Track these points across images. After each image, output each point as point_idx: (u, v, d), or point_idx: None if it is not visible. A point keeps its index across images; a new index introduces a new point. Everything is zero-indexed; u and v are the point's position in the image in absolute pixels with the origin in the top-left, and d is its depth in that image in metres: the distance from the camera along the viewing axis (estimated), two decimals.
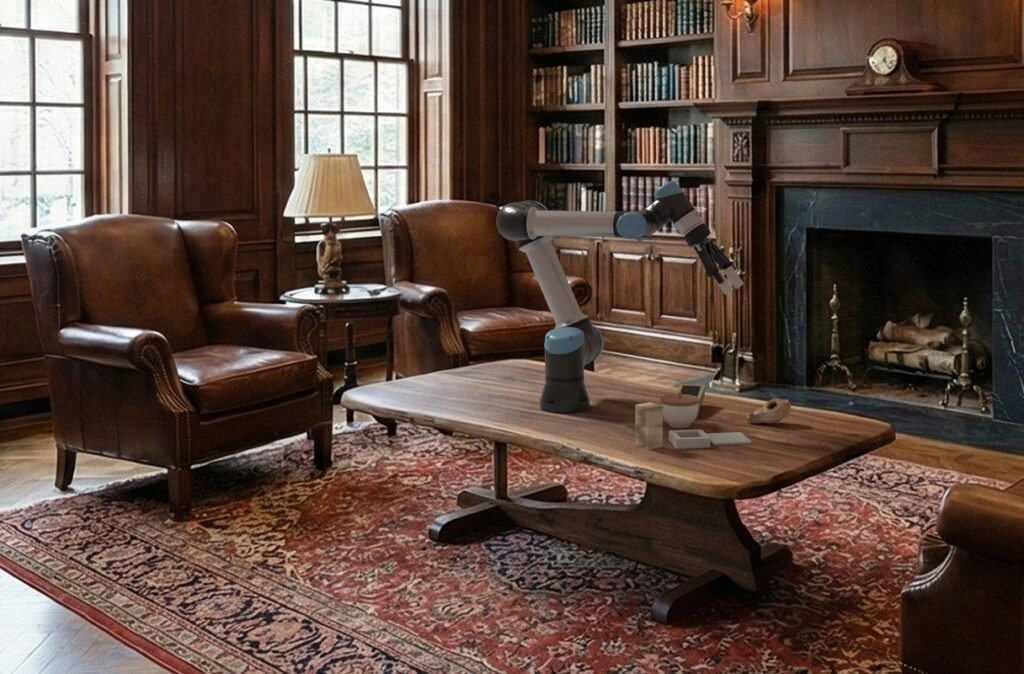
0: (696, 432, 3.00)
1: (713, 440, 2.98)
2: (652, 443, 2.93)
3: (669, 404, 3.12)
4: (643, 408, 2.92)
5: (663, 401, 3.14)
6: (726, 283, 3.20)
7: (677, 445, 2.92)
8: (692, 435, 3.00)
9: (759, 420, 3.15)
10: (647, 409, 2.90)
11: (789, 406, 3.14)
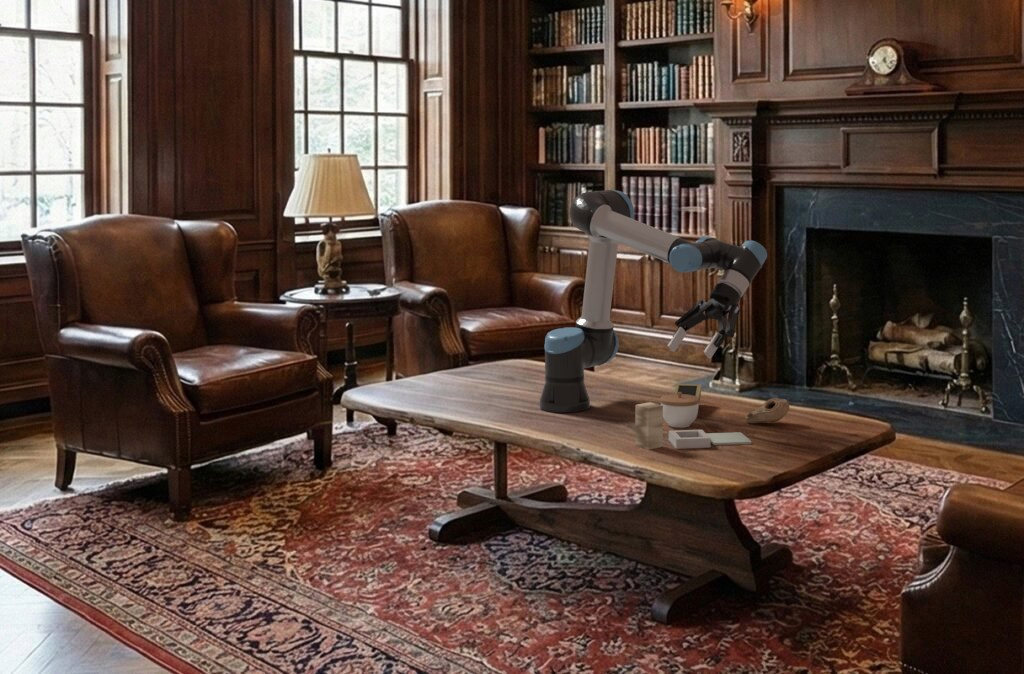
0: (696, 432, 3.00)
1: (713, 440, 2.98)
2: (652, 443, 2.93)
3: (669, 404, 3.12)
4: (643, 408, 2.92)
5: (663, 401, 3.14)
6: (714, 350, 2.94)
7: (677, 445, 2.92)
8: (692, 435, 3.00)
9: (757, 420, 3.15)
10: (647, 409, 2.90)
11: (787, 406, 3.14)
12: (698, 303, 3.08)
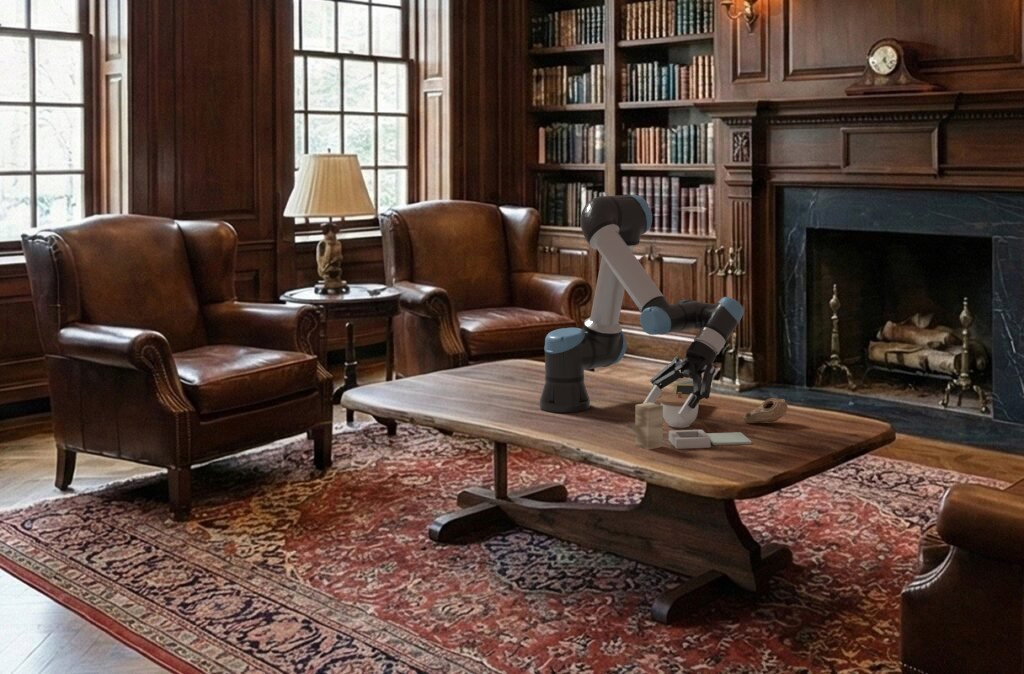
0: (696, 432, 3.00)
1: (713, 440, 2.98)
2: (652, 443, 2.93)
3: (669, 404, 3.12)
4: (643, 408, 2.92)
5: (663, 401, 3.14)
6: (689, 411, 2.90)
7: (677, 445, 2.92)
8: (692, 435, 3.00)
9: (756, 420, 3.16)
10: (647, 409, 2.90)
11: (786, 405, 3.15)
12: (674, 360, 3.04)
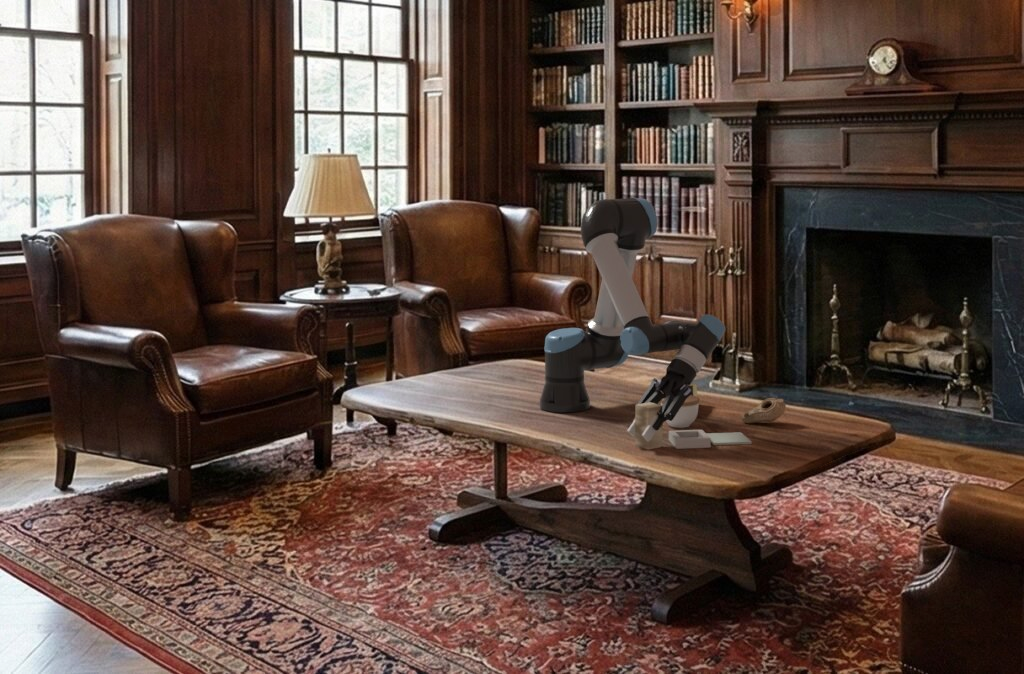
0: (696, 432, 3.00)
1: (713, 440, 2.98)
2: (652, 443, 2.93)
3: None
4: (643, 408, 2.92)
5: (663, 401, 3.14)
6: (653, 433, 2.91)
7: (677, 445, 2.92)
8: (692, 435, 3.00)
9: (754, 420, 3.16)
10: (647, 409, 2.90)
11: (784, 405, 3.15)
12: (653, 382, 3.01)
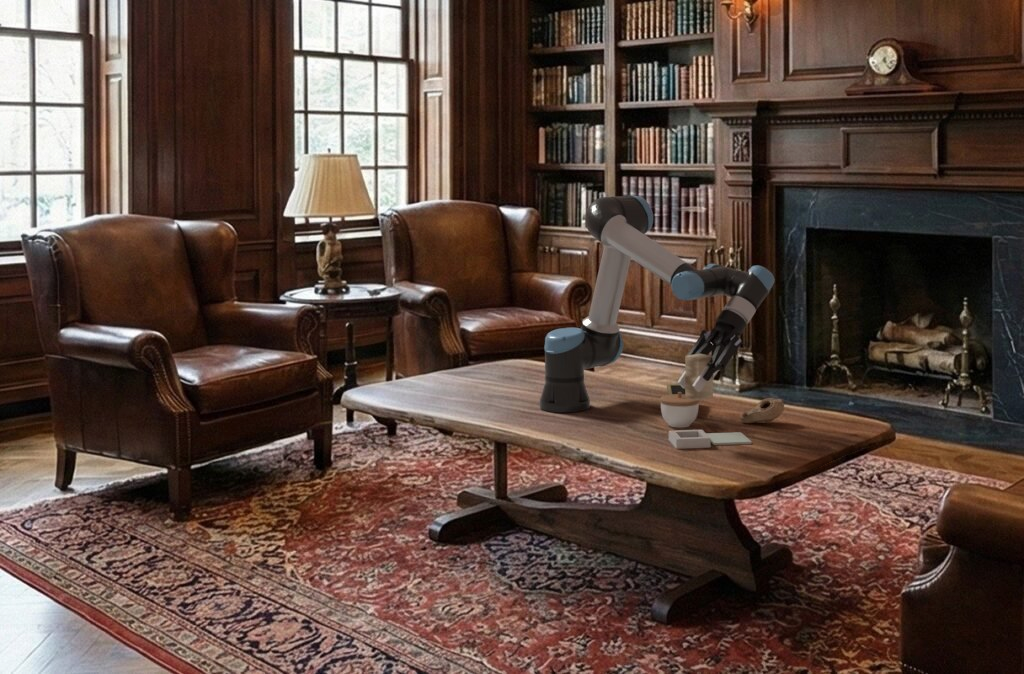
0: (696, 432, 3.00)
1: (713, 440, 2.98)
2: (703, 394, 2.92)
3: (669, 404, 3.12)
4: (693, 359, 2.91)
5: (663, 401, 3.14)
6: (703, 383, 2.91)
7: (677, 445, 2.92)
8: (692, 435, 3.00)
9: (753, 420, 3.16)
10: (697, 359, 2.90)
11: (782, 405, 3.15)
12: (702, 334, 3.00)
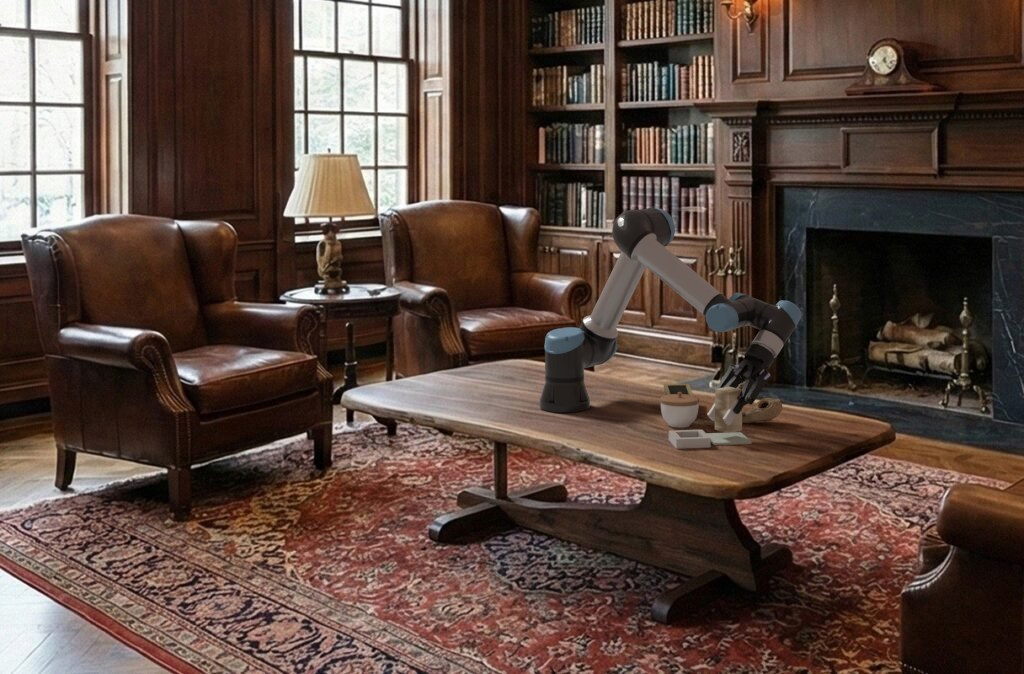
0: (696, 432, 3.00)
1: (713, 440, 2.98)
2: (732, 427, 2.97)
3: (669, 404, 3.12)
4: (723, 392, 2.96)
5: (663, 401, 3.14)
6: (733, 417, 2.96)
7: (677, 445, 2.92)
8: (692, 435, 3.00)
9: (751, 420, 3.16)
10: (728, 393, 2.95)
11: (780, 405, 3.15)
12: (730, 367, 3.06)
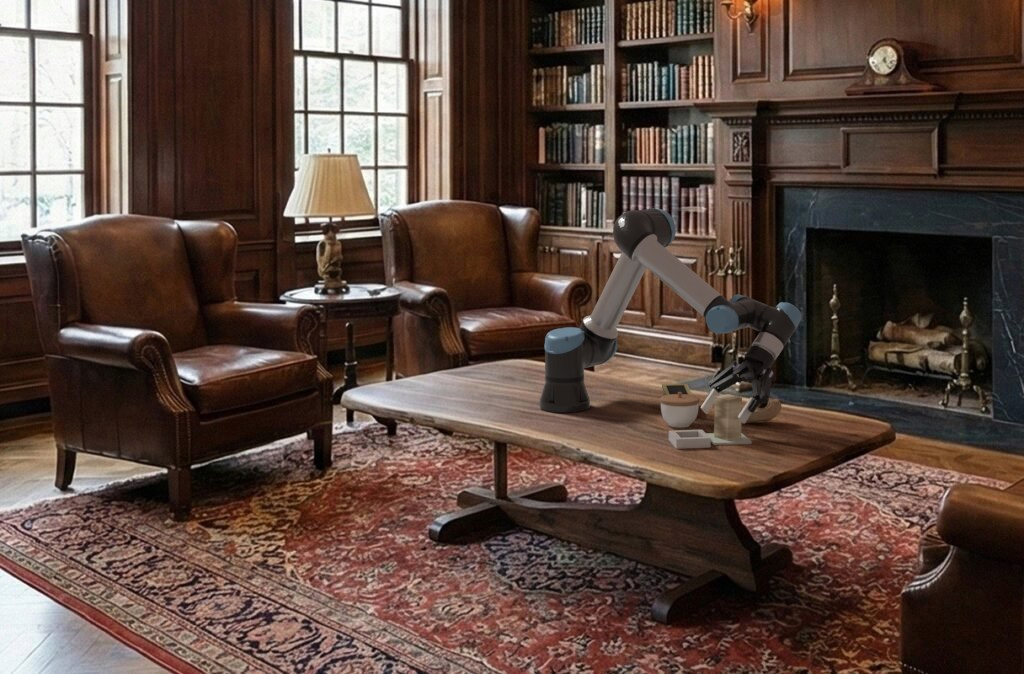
0: (696, 432, 3.00)
1: (713, 440, 2.98)
2: (732, 434, 2.98)
3: (669, 404, 3.12)
4: (723, 400, 2.97)
5: (663, 401, 3.14)
6: (748, 415, 2.93)
7: (677, 445, 2.92)
8: (692, 435, 3.00)
9: (750, 419, 3.16)
10: (727, 401, 2.96)
11: (780, 405, 3.15)
12: (731, 364, 3.07)
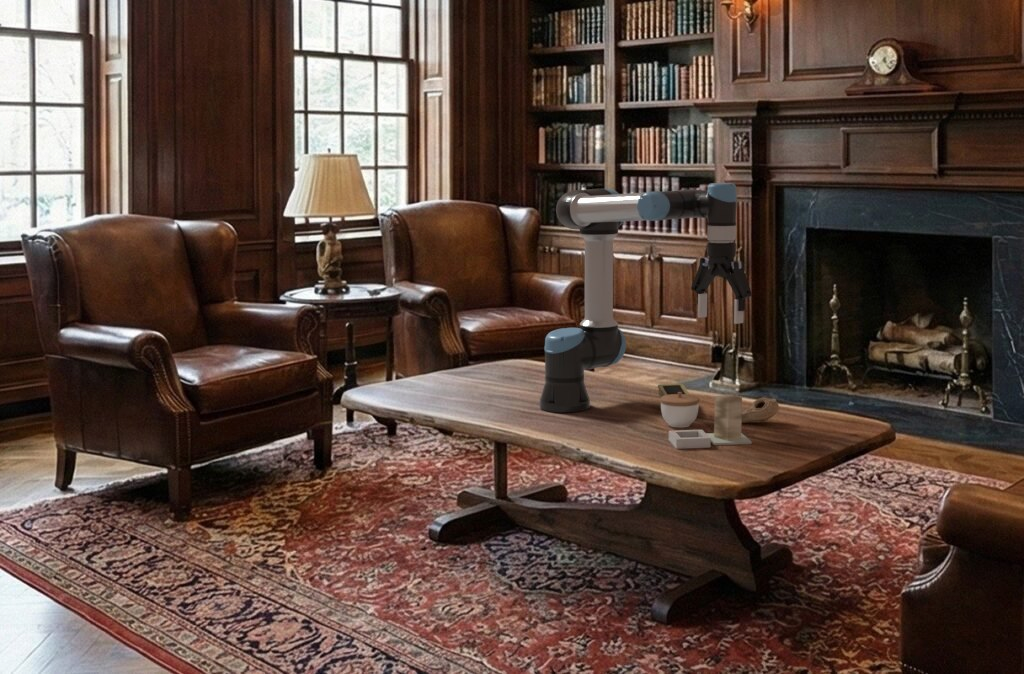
0: (696, 432, 3.00)
1: (713, 440, 2.98)
2: (732, 434, 2.98)
3: (669, 404, 3.12)
4: (723, 400, 2.97)
5: (663, 401, 3.14)
6: (742, 314, 2.99)
7: (677, 445, 2.92)
8: (692, 435, 3.00)
9: (747, 419, 3.16)
10: (727, 401, 2.96)
11: (777, 405, 3.16)
12: (701, 263, 3.07)
